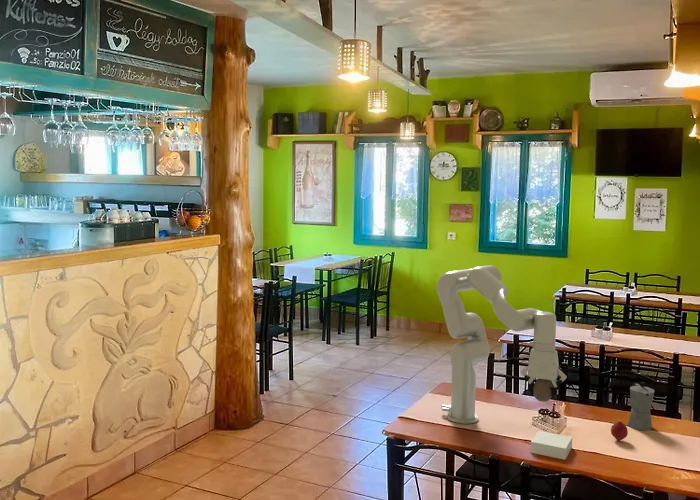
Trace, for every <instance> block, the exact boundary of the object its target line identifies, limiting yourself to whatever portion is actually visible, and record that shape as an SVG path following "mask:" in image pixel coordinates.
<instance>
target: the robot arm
mask: <svg viewBox="0 0 700 500" xmlns="http://www.w3.org/2000/svg"><path fill="white" fill-rule="evenodd" d="M502 278H503V277H502V273H501V270H500V268H498V267H496V265H495V266H494V265H490V264H489V265H480V266H475V267H473V268H467V269H458V270H450V271H448V272H445V273H443V274H442V275H441V276H439V278H438V280H437V283H436V293H437V296H438V299H439V302H440V305H441V307H442V311H443V316H444V319H445V324H446V327H447V332H448V334H449V336H450V337H451V338H452V339H457V340H458V339H464V338H467V340H463V341H458V342H456V343H455V344H453V346H451V348H450V352H449V357H450V364H451V394H450V395H451V396H450V397H451V398H450V404H449V405H448V404H444V403H443V404H441V410H442V411H443V412H447V414H446V419H447V420H449V421H450V422H452V423H455V424H456V423H457V424H463V425H464V424H465V425H467V424H475V423H477V422H478V421H479V416H478V414H477V413H476V412H475V411H476V389H477V388H476V383H477V374H476V371H475V369H474V365H473V364H477V363H482V362H484V361H486V360H487V359H488V358H489V356H490V353H491V352H490V350H491V349H490V344H489V340H488V335H487V332H486V328H485V325H484V320H482V318H481V317H480V316H479V315H478V314H477V313H475V312H466V309H465V305H464V303H463V300H462V299H461V297H460V295H459V294H458V293H459V292H465V291H472V290H476V291H477V292H478V293H479V294H480V295H481V296H482V297H484V298H485V299H486V300H487V301H488V302H489V303H490V304H491V306H492V309H493V313H494V315H495V317H496V318H497V319H498V320H499V321H500V322H501V323H502V324H503V325H504V326H505V327H507V328H508V329H510V330H511V331H513V332H524V331H527V330H533V341H529V344H528V345H529V346H531V347H532V348H531V349H530V352H529V358H528V366H526V367H524V368H523V369H522V370H521V371H520V373H521V375H522V376H523V377H524V379H525V380H526V381H527V383H528V392H529V395H530V396H532V395H533V396H534V394H533V386H534V383H535V382H534V381H535V379H536V380H538V379H544V380H549V381H550V383H551V384H552V397H551V399H555V397H556V396H558V387H559V386H560V385H562V383H563V382H564V381H565V380H566V379H567V378H568V377H567V375H566V374H565V373H564V372H563V371H562V370H561V369H560V367H559V366H560V365H559V357H558V356H559V355H558V350H556V341H557V340H556V337H557V336H556V334H557V333H556V332H557V331H556V330H557V316H556V314H555V313H553V312H550V311H542V310H540V309H537V308H534V307H533V308H532V307H529V308H523V309H518V310H517V309H515V308H514V307H513V306H512V305H511V304H509V303H508V301H507V300H506V299H507V297H508V295H509V288H508V287H507V285H505V284H504V283H503V282H502ZM559 377H560V378H559ZM557 378H559V380H557Z"/></svg>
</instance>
